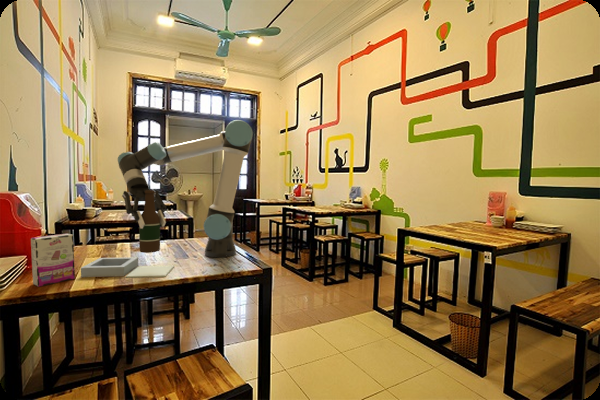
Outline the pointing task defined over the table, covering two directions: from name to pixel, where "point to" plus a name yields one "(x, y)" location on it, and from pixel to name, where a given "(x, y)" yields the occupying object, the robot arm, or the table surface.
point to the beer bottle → (149, 226)
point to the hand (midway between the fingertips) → (153, 225)
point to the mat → (150, 271)
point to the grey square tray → (109, 267)
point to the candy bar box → (52, 259)
